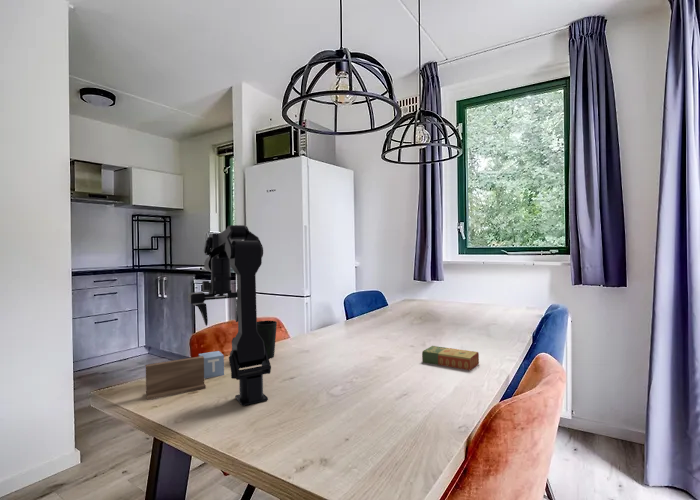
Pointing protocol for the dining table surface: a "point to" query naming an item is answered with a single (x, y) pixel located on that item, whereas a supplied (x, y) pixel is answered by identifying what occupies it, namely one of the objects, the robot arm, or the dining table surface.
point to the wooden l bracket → (174, 377)
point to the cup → (268, 335)
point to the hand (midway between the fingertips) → (221, 323)
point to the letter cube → (213, 364)
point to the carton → (451, 357)
